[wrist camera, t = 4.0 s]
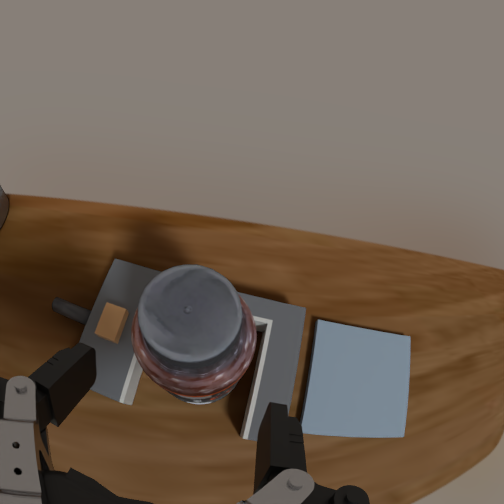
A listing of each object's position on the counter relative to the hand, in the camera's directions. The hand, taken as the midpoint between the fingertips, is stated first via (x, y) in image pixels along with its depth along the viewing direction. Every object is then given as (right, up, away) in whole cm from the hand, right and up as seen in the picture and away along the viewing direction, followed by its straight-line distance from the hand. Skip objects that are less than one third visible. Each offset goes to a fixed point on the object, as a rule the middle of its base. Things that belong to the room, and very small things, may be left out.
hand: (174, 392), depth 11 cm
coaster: (+12, -4, +9) cm, 16 cm away
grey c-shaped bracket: (-3, -1, +9) cm, 10 cm away
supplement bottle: (-1, -2, +9) cm, 9 cm away
